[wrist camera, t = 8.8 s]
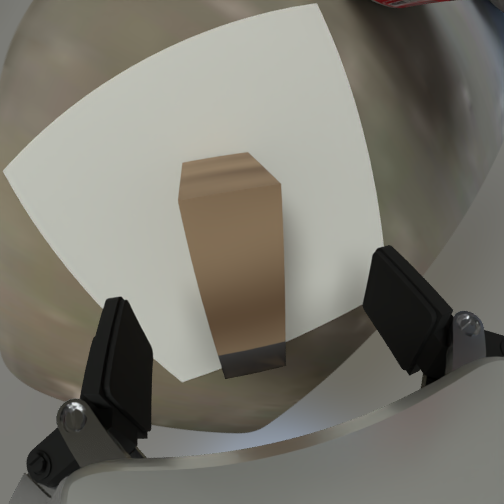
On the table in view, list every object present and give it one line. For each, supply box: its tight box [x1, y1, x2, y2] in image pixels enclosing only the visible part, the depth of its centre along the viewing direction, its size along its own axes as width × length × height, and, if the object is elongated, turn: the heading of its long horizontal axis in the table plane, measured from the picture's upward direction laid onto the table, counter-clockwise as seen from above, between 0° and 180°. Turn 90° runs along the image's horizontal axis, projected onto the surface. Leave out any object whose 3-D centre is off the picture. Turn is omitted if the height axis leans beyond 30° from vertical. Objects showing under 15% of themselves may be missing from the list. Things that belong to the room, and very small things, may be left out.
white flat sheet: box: [3, 3, 384, 382], centre depth 15 cm, size 18×20×2 cm
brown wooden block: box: [178, 152, 286, 379], centre depth 12 cm, size 9×3×5 cm, turn 5°
